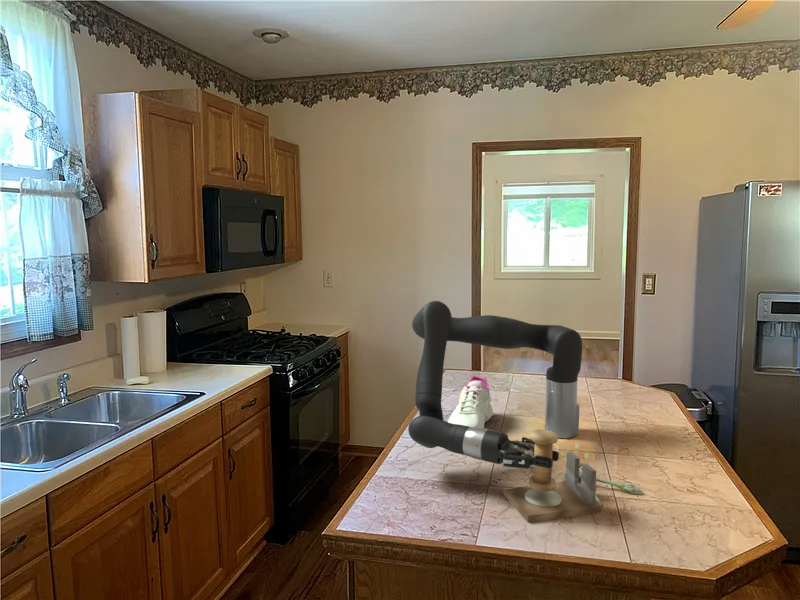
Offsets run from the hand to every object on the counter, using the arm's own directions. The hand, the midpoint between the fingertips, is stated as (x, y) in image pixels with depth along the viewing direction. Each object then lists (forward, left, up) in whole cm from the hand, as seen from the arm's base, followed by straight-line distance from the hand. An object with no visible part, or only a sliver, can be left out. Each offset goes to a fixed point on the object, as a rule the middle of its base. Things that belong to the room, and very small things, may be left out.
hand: (555, 460), depth 131 cm
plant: (-16, -4, -12) cm, 21 cm away
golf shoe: (+1, -51, -12) cm, 52 cm away
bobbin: (+2, -2, -7) cm, 7 cm away
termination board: (0, -2, -11) cm, 12 cm away
